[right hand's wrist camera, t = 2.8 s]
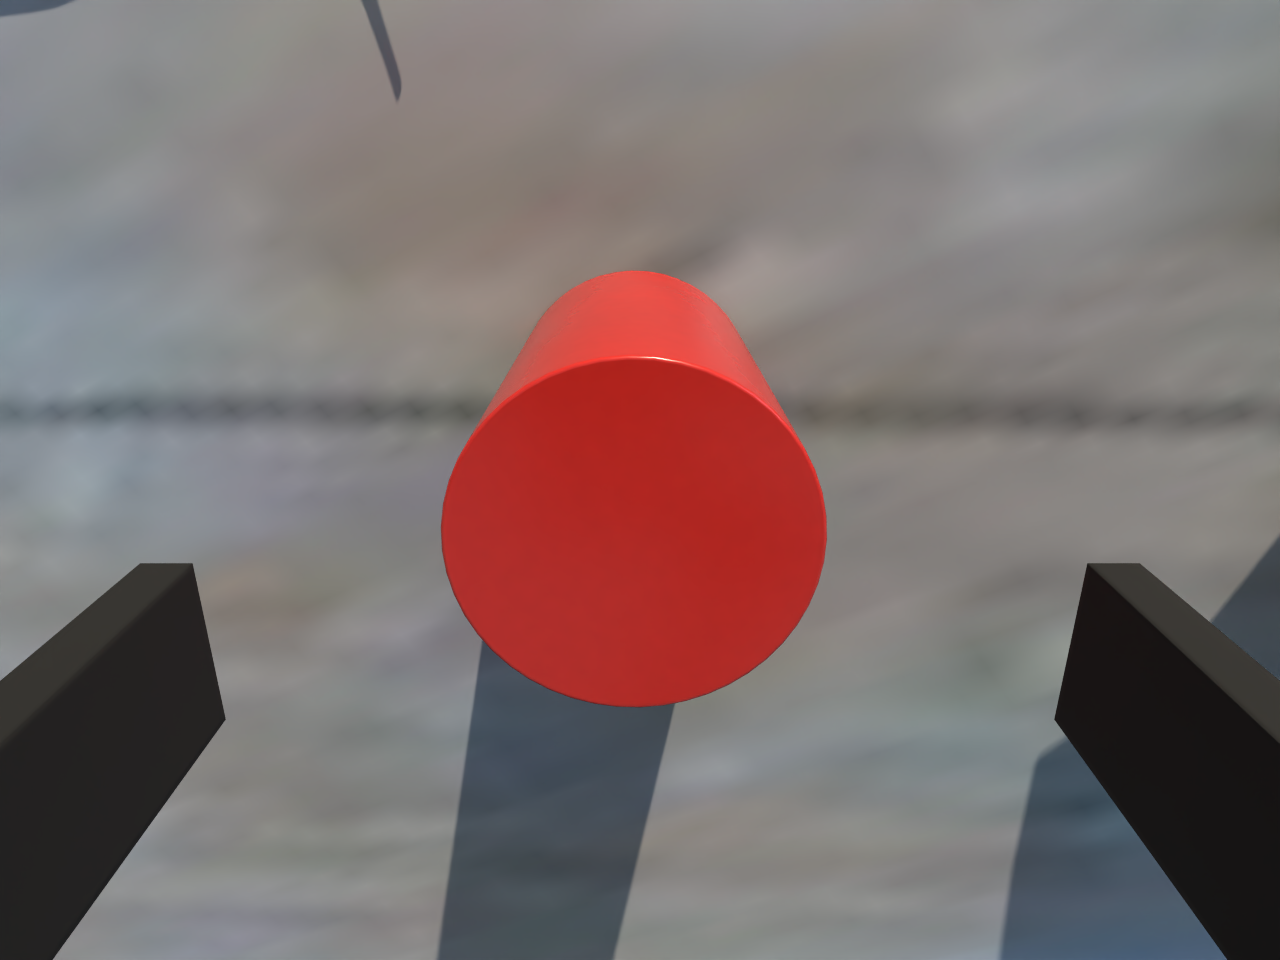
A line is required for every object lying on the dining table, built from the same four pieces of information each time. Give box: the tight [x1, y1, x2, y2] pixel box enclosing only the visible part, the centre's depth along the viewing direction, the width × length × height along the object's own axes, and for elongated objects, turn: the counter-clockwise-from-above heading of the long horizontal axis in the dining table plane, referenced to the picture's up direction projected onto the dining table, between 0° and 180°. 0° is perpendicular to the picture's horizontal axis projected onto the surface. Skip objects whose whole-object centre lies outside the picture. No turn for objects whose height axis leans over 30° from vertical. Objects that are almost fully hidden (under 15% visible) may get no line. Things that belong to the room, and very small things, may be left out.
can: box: [441, 271, 827, 707], centre depth 22 cm, size 8×8×12 cm
